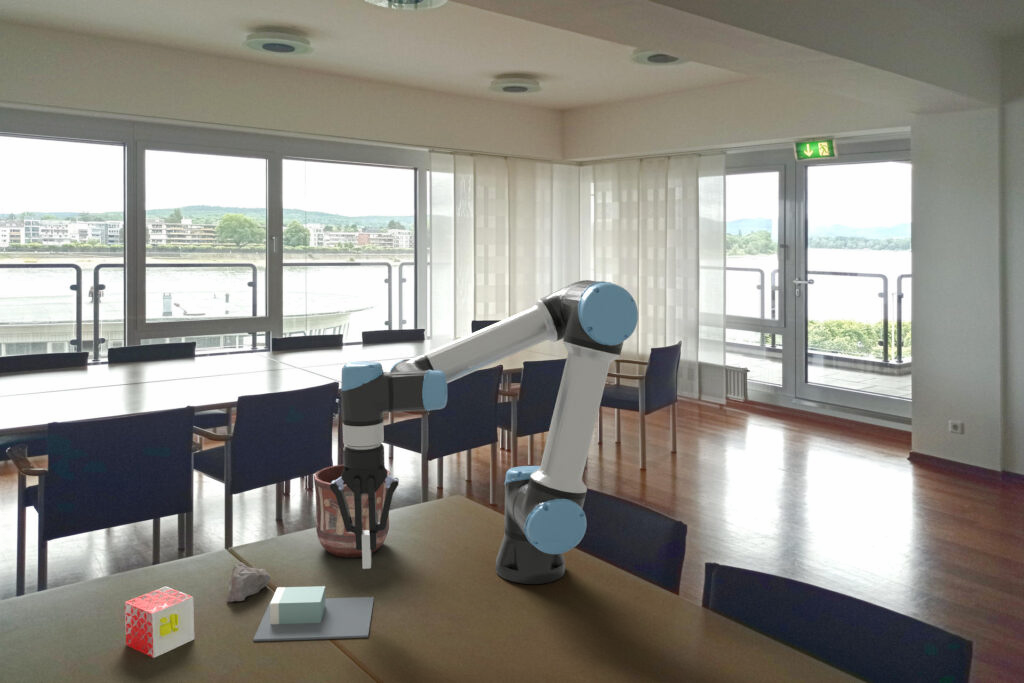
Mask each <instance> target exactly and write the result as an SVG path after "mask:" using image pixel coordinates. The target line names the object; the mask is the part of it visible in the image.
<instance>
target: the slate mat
mask: <svg viewBox="0 0 1024 683" xmlns="http://www.w3.org/2000/svg"><path fill="white" fill-rule="evenodd" d="M271 601H272V599H270V601H269V604H268V606H267V608H266V610H265V612H264V614H263V617H262V618H261V621H260V623H259V625H258V627H257V630H256V632H255V634H254V637H253V639H252V641H253V642H271V641H272V642H273V641H274V642H275V641H276V642H278V641H279V642H280V641H303V640H304V641H307V640H308V641H309V640H331V639H333V640H334V639H358V638H359V639H362V638H363V639H364V638H369V633H370V627H371V621H372V615H373V614H372V613H373V607H374V601H375V596H366V597H365V596H362V597H361V596H360V597H355V596H354V597H330V598H329V597H328V598H327V597H325V609H324V612H323V616H322V619H321V623H297V624H271V621H270V603H271Z"/></svg>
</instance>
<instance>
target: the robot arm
mask: <svg viewBox="0 0 1024 683" xmlns="http://www.w3.org/2000/svg"><path fill="white" fill-rule="evenodd" d="M638 320H639V312H638V307H637V303H636V301H635V299H634V297H633V296H632V295H631V293H630V292H629V291H628V290H627V289H625V288H624V287H622V286H620V285H618V284H616V283H613V282H611V281H603V280H601V281H599V280H598V281H596V280H589V279H588V280H587V279H584V280H580V281H575V282H573V283H571V284H569V285H567V286H565V287H563V288H560V289H559V290H556V291H554V292H553V293H551V294H548V295H546V296H543V297H541V298H540V299H537V300H536V301H535V303H534V306H533V307H530V308H528V309H526V310H523V311H521V312H518V313H517V314H514V315H512V316H509V317H507V318H505V319H502V320H500V321H498V322H495V323H492V324H491V325H488V326H486V327H484V328H481V329H479V330H476V331H474V332H471V333H469V334H467V335H464V336H462V337H460V338H458V339H456V340H453V341H451V342H448V343H446V344H443V345H441V346H440V347H436V348H434V349H432V350H430V351H428V352H425V353H424V354H423V353H422V354H420V355H417V356H416V357H413V358H411V359H409V358H407V359H406V358H404V359H402V360H399V361H397V362H396V363H394V364H393V365H392V367H391V369H390V371H389V372H388V371H384V369H383V366H382V364H381V363H380V362H378V361H373V360H372V361H371V360H370V361H368V360H367V361H366V360H362V361H361V360H360V361H351V362H348V363H346V364H344V365H343V367H342V368H341V380H340V382H341V386H340V387H341V388H340V389H341V390H340V391H341V413H342V414H341V415H342V416H341V417H342V444H344V447H343V449H342V450H343V456H342V457H343V464H344V470H343V472H342V474H341V477H340V478H338V479H337V480H333V481H332V482H331V485H330V489H331V490H332V491H333V493H334V494H335V495H336V498H337V502H338V505H339V509H340V512H341V516H342V519H343V522H344V526H345V529H346V531H347V532H353V533H355V535H356V549H357V550H362V556H361V557H362V560H361V561H362V562H361V564H362V569H363V570H365V569H366V570H367V569H372V553H371V550H375V549H376V546H377V534H376V533H377V532H378V531H380V530H384V529H385V527H386V523H387V518H388V514H389V515H390V508H391V506H392V505H391V504H392V500H393V497H394V496H393V495H394V493H395V491H396V490H397V488H398V487H399V484H400V483H399V482H400V480H399V478H398V477H393V476H392V475H391V474H390V475H388V474H387V470H388V469H387V468H386V465H385V446H384V445H383V443H384V440H385V438H384V437H385V435H384V434H385V432H384V425H385V424H384V414H385V413H394V412H395V413H397V412H417V411H418V412H423V411H427V412H430V411H435V410H442V409H445V407H446V406H447V403H448V384H449V383H451V382H453V381H455V380H458V379H461V378H463V377H465V376H467V375H469V374H472V373H474V372H477V371H479V370H481V369H483V368H486V367H489V366H490V365H492V364H495V363H497V362H500V361H502V360H504V359H506V358H509V357H512V356H514V355H516V354H518V353H520V352H523V351H525V350H528V349H529V348H532V347H534V346H536V345H537V346H538V345H539V344H541V343H543V342H546V341H550V342H553V343H556V342H558V341H560V340H562V344H563V345H564V347H565V349H566V351H567V356H566V359H565V365H564V368H563V371H562V376H561V380H560V385H559V389H558V392H557V397H556V400H555V401H556V402H555V405H554V409H553V414H552V416H551V422H550V425H549V430H548V434H547V437H546V442H545V447H544V450H543V453H542V459H541V463H540V465H524V466H523V465H522V466H515V467H511V468H509V469H508V470H506V473H505V478H504V479H505V480H504V531H503V532H504V535H503V538H502V541H501V544H500V546H499V550H498V553H497V556H496V559H495V572H496V574H497V576H500V578H502V579H503V580H504V579H505V580H507V581H509V582H513V583H517V584H524V585H525V584H526V585H543V584H548V583H552V582H555V581H557V580H559V579H562V578H563V577H564V575H565V572H566V560H565V557H564V554H565V553H568V552H569V551H570V550H572V549H574V548H576V547H577V546H578V544H580V542H581V541H582V539H583V538H584V536H585V535H586V530H587V527H588V526H587V522H588V521H587V516H586V513H585V511H584V510H583V508H584V503H585V499H586V496H587V491H588V488H587V486H586V484H585V483H584V481H583V475H584V471H585V468H586V463H587V459H588V455H589V450H590V446H591V444H592V439H593V434H594V431H595V427H596V423H597V418H598V414H599V411H600V406H601V403H602V398H603V394H604V391H605V390H604V389H605V385H606V382H607V377H608V373H609V369H610V365H611V363H612V362H613V361H615V360H616V359H618V358H620V357H621V353H622V350H623V346H624V342H625V341H626V340H628V339H629V338H630V337H631V336H632V335H633V333H634V331H635V330H636V327H637V324H638ZM386 469H387V470H386ZM384 481H386V488H387V492H386V496H385V501H384V505H383V510H382V514H381V518H380V522H378V523H376V491H377V490H378V489H379V488H380V486H381V485H382V483H383V482H384ZM343 482H345V484H346V485H347V486H348V487H349V488H350V490H351V491H352V492H353V493H354V501H355V524H354V523H353V522H352V519H351V515H350V512H349V508H348V505H347V501H346V498H345V494H344V491H343V488H344V484H343ZM364 493H366V494H368V503H369V530H363V520H362V494H364Z"/></svg>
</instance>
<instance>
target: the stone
mask: <svg viewBox="0 0 1024 683" xmlns="http://www.w3.org/2000/svg"><path fill="white" fill-rule="evenodd" d="M230 577H231V578H230V581H229V587H228V589H227V590H228V592H227V593H228V595H227V597H226V601H227V602H228V603H234V602H242V601H245V600H246V598H247V597H250V596H253V595H256V594H258V593H260V591H261V589H262V590H263V588H265V587H266V586H268V585H269V584H268V583H269V582H270V580H271V577H270V574H269V573H268V571H267V570H266V569H265V568H259V569H258V568H255V567H250V566H248V565H246V564H245V563H244V562H241V561H240V562H236V563H235V564H234V565H233V568H232V573H231V576H230Z"/></svg>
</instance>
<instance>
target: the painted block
mask: <svg viewBox="0 0 1024 683" xmlns="http://www.w3.org/2000/svg"><path fill="white" fill-rule="evenodd" d="M325 598H326V586H324V585H321V586H319V585H318V586H314V585H313V586H288V587H287V586H284V587H282V586H279V587H278V586H277V588H276V590H275V591H274V594H273V596H272V599H271V600H272V601H271V600H270V601H271V603H270V602H269V603H270V621H271V624H297V623H321V619H322V616H323V612H324V609H325Z"/></svg>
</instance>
